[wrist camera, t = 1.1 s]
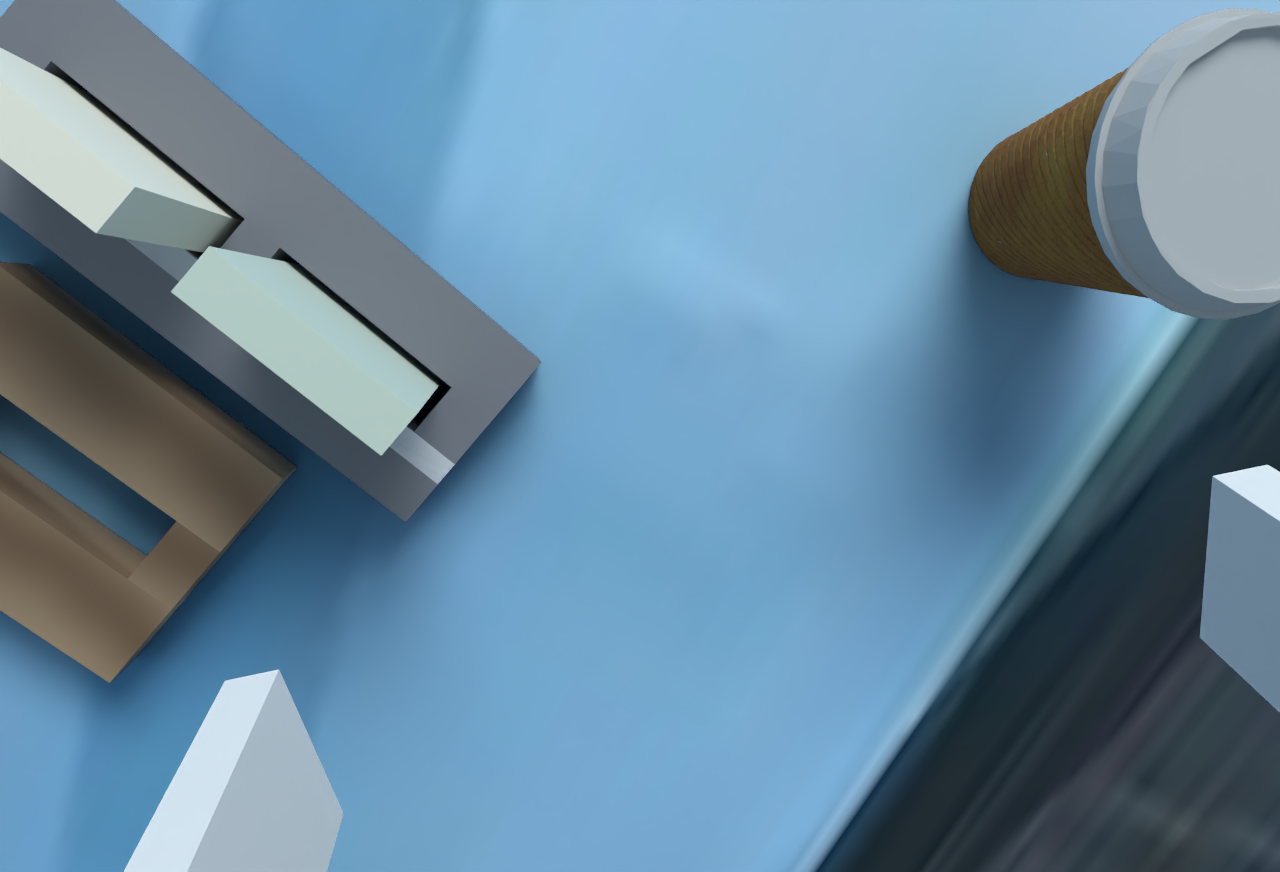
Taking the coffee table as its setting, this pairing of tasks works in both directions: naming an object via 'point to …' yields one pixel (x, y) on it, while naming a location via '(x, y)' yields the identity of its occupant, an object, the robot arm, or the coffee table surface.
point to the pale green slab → (101, 164)
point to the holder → (132, 452)
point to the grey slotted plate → (261, 248)
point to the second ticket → (310, 341)
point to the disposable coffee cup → (1152, 176)
